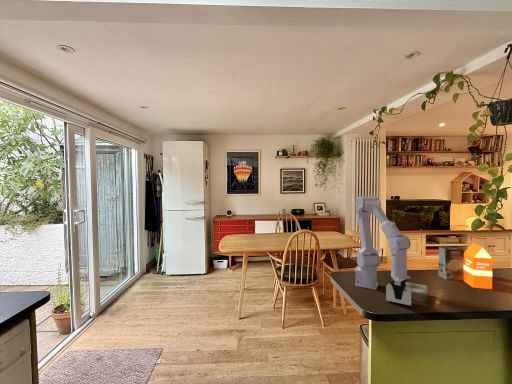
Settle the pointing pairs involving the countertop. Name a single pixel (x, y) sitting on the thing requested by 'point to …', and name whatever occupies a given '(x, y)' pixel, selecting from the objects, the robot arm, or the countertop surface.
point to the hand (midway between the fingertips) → (398, 296)
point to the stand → (418, 292)
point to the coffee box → (451, 263)
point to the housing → (405, 296)
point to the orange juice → (478, 267)
